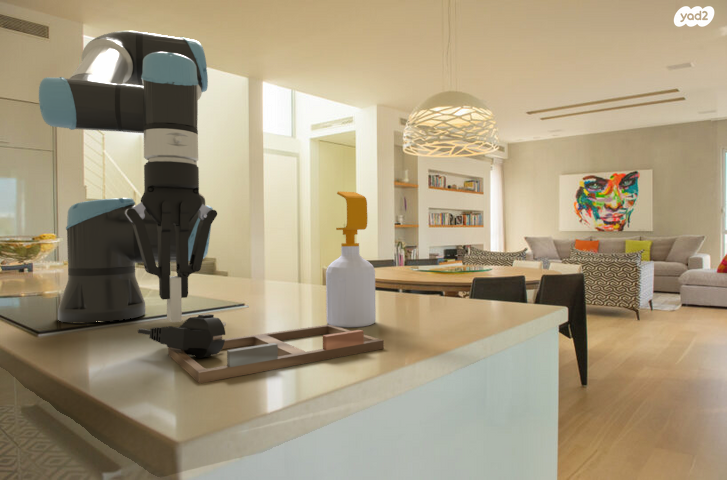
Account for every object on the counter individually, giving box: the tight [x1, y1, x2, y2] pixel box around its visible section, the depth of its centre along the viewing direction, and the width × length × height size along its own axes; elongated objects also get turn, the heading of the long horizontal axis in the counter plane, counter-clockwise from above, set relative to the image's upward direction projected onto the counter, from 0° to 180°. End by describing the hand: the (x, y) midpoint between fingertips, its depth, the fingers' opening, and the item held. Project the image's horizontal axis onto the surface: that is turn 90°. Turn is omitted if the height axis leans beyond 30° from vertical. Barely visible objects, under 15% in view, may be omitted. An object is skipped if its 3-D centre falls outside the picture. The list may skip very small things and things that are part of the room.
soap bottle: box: [325, 190, 377, 329], centre depth 86 cm, size 9×9×25 cm
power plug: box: [137, 313, 226, 359], centre depth 65 cm, size 6×8×12 cm
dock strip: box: [167, 324, 385, 384], centre depth 66 cm, size 15×26×3 cm, turn 125°
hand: (174, 320), depth 70 cm, fingers closed
